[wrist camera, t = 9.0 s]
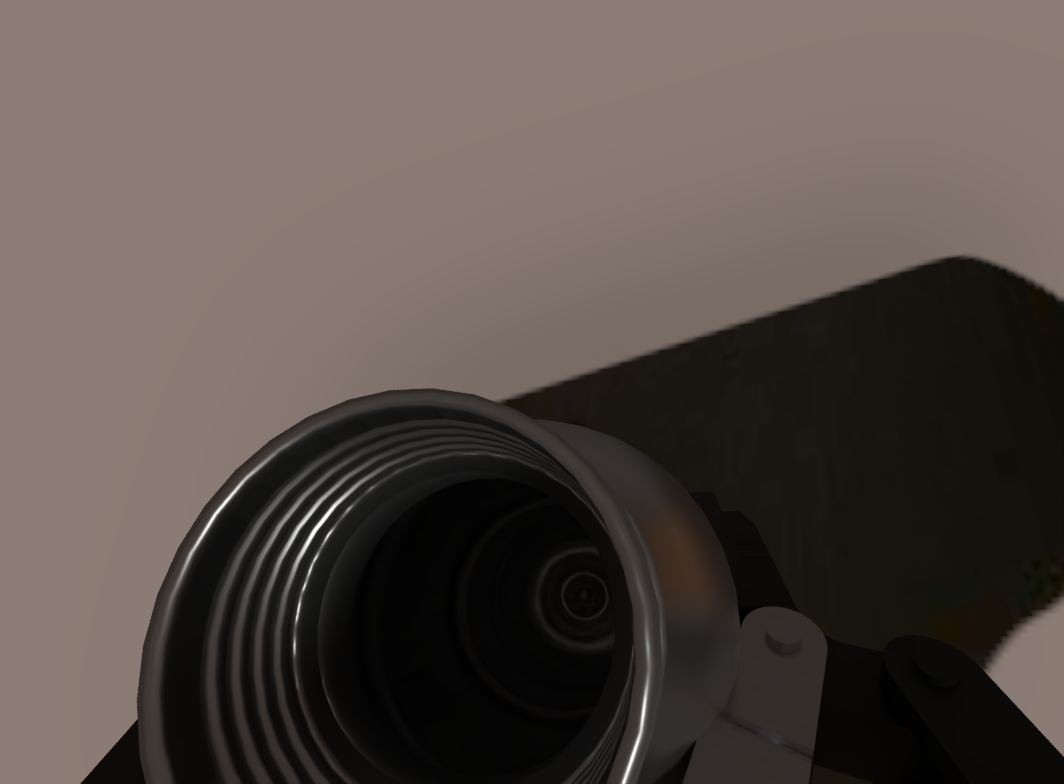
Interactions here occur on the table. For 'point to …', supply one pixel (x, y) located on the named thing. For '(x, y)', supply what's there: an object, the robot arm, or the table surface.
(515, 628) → the plastic bottle
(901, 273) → the table surface
